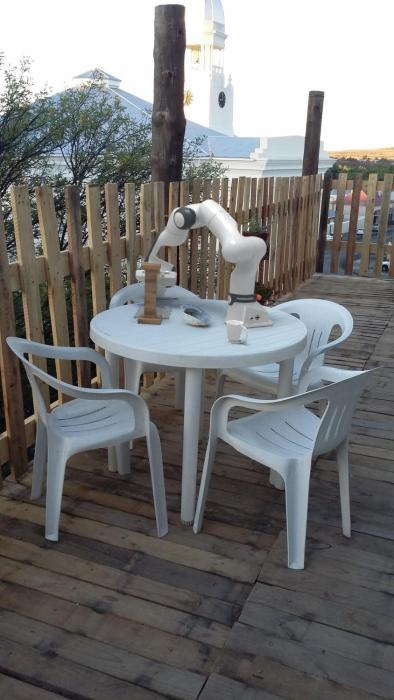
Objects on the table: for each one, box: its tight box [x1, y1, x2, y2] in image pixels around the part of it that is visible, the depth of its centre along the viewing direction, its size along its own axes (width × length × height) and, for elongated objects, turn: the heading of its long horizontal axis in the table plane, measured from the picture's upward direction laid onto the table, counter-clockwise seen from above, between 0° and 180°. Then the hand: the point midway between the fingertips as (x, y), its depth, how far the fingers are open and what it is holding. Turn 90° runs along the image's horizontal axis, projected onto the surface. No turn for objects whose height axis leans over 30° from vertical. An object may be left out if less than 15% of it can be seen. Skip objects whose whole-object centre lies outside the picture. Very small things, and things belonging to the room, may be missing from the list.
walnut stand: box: [137, 261, 163, 326], centre depth 254 cm, size 10×10×26 cm
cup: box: [225, 320, 249, 344], centre depth 230 cm, size 7×10×8 cm
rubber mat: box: [133, 305, 172, 320], centre depth 274 cm, size 22×16×1 cm
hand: (155, 270), depth 274 cm, fingers closed on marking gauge, 3 cm apart
